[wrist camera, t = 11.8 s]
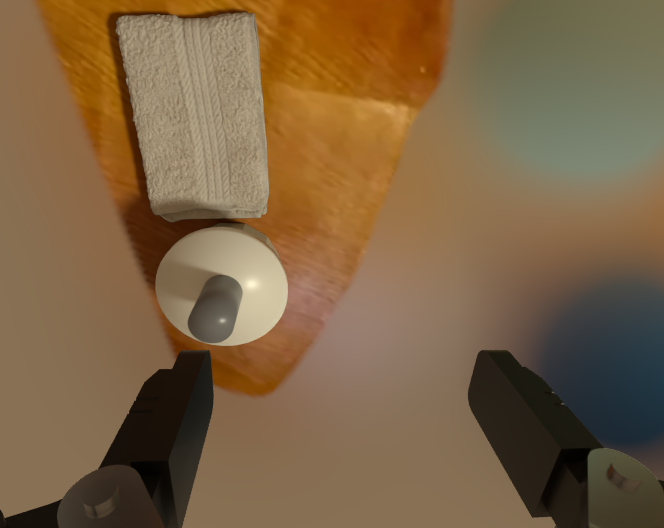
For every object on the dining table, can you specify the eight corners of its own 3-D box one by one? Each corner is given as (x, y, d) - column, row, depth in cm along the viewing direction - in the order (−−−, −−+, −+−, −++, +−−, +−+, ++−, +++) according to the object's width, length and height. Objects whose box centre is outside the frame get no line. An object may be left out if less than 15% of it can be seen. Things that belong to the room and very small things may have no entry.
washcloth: (161, 218, 39) (151, 227, 37) (117, 16, 32) (100, 8, 29) (275, 212, 40) (273, 221, 37) (257, 15, 33) (254, 7, 30)
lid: (152, 223, 33) (120, 252, 27) (289, 229, 34) (288, 257, 28) (166, 338, 38) (141, 384, 32) (286, 339, 39) (284, 383, 33)
